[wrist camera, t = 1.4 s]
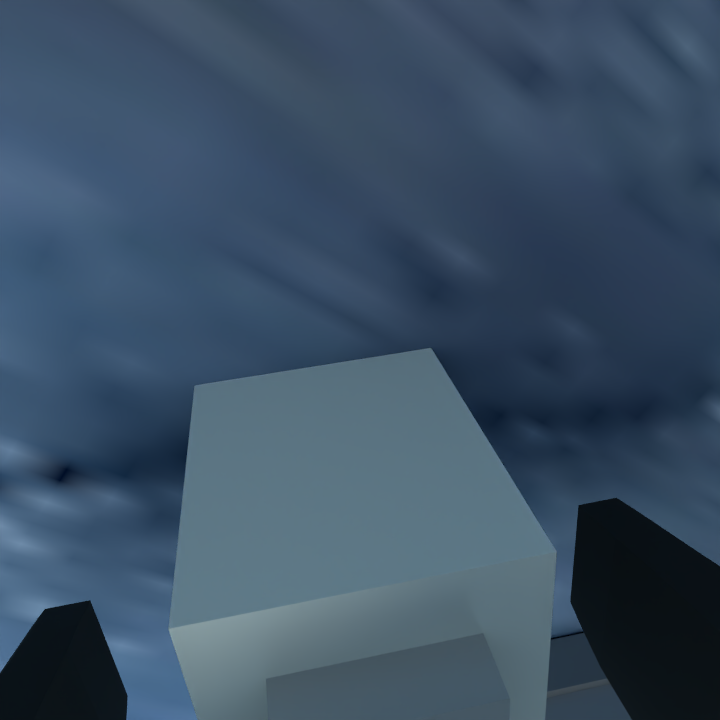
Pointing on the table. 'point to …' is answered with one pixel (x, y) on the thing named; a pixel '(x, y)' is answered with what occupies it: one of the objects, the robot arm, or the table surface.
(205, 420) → the grey plug
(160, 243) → the table surface
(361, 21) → the table surface
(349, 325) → the table surface
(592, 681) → the socket strip
